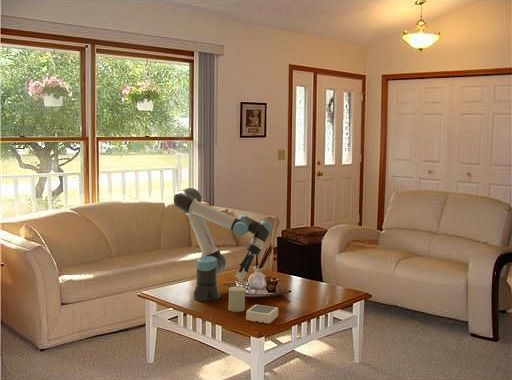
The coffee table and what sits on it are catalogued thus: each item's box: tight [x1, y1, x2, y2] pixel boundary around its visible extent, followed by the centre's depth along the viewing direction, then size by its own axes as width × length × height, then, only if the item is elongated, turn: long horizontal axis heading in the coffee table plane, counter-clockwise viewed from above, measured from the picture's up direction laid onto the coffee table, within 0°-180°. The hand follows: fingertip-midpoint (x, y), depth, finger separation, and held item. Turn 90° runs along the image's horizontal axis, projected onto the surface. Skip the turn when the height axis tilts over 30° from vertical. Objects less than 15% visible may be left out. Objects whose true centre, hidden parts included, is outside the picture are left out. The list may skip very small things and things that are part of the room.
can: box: [227, 286, 246, 313], centre depth 341 cm, size 9×9×12 cm
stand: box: [245, 304, 279, 324], centre depth 328 cm, size 13×13×5 cm
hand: (238, 279), depth 356 cm, fingers open, 13 cm apart
